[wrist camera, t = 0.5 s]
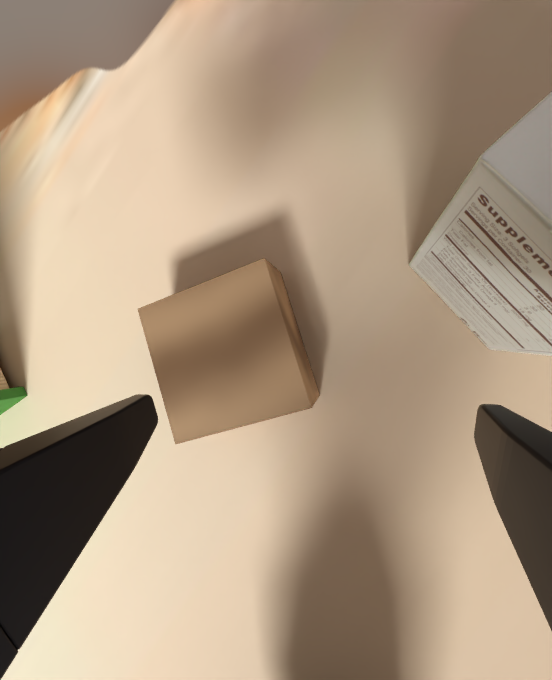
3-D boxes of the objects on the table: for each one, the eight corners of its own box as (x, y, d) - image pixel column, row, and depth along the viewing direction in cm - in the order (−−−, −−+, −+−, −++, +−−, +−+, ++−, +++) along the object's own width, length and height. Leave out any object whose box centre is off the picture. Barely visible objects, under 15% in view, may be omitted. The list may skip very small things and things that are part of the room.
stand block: (319, 395, 22) (311, 407, 18) (205, 427, 24) (175, 444, 20) (280, 272, 22) (264, 257, 18) (172, 313, 24) (137, 309, 20)
